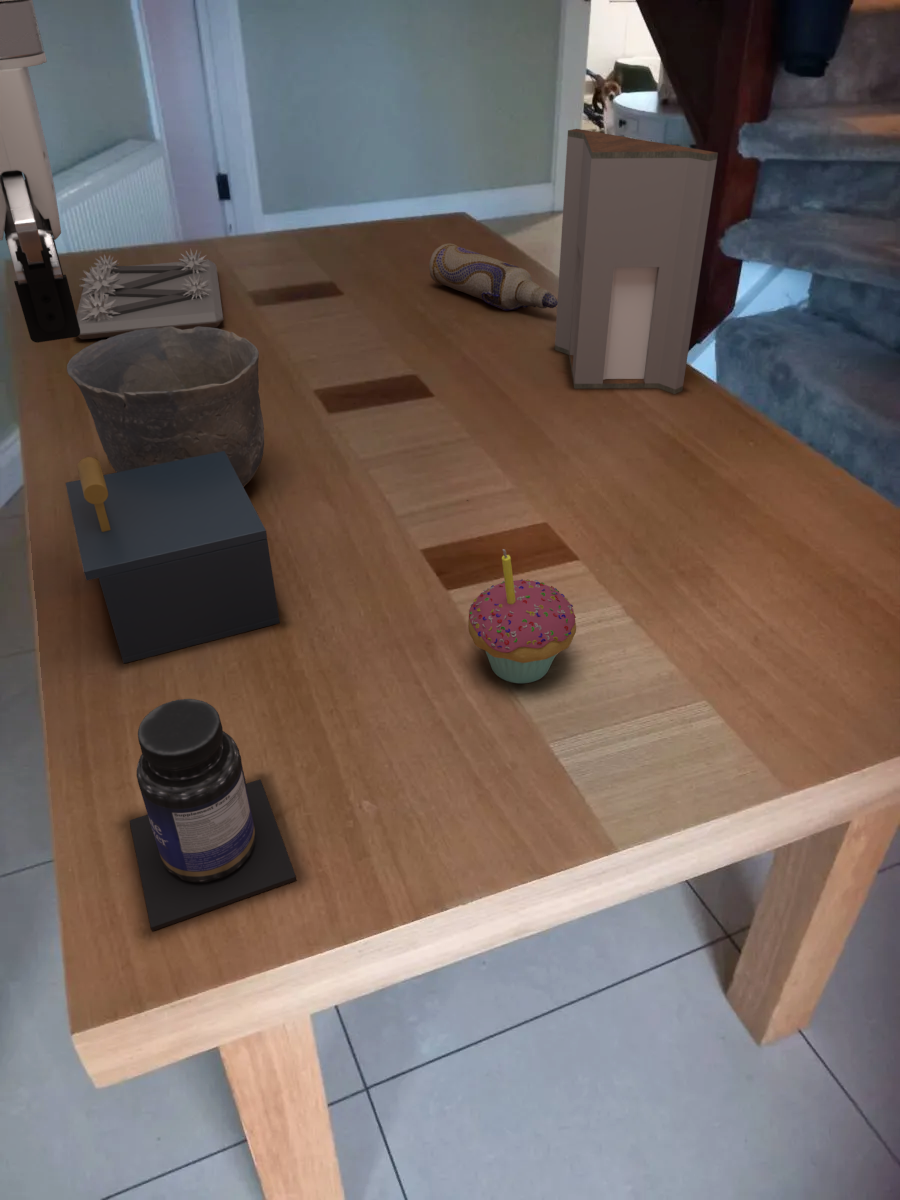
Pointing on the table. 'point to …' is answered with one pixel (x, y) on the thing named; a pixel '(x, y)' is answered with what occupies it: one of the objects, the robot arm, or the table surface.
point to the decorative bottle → (487, 279)
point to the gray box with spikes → (149, 297)
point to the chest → (191, 600)
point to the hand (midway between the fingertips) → (50, 315)
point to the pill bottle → (194, 791)
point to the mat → (188, 899)
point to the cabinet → (630, 259)
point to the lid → (159, 513)
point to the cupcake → (521, 626)
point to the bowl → (173, 397)
